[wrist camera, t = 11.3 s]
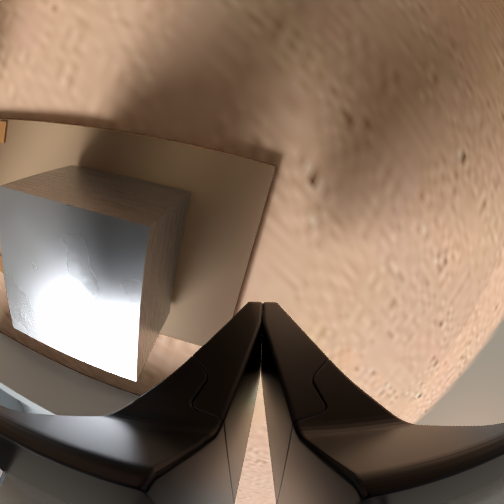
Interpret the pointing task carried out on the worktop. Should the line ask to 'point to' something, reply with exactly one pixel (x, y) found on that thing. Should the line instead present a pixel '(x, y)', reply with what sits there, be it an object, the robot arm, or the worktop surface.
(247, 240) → the plate
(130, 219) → the block
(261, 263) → the worktop surface
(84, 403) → the tray
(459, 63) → the worktop surface
